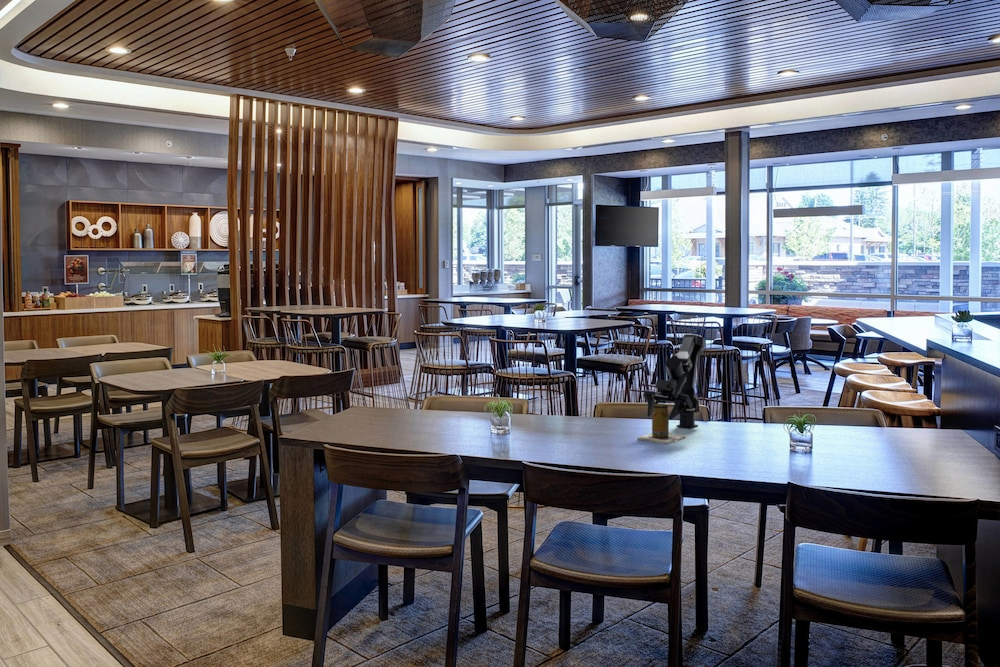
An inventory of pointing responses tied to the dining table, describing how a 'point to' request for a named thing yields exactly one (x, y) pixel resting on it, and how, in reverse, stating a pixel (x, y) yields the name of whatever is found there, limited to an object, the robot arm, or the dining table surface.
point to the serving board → (660, 439)
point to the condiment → (660, 422)
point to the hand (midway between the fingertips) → (658, 417)
